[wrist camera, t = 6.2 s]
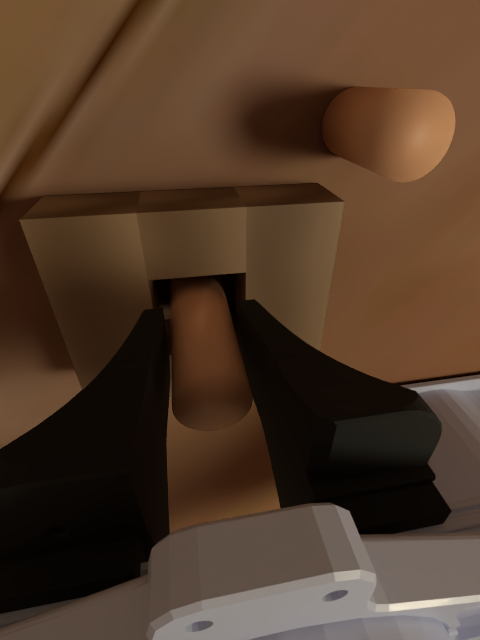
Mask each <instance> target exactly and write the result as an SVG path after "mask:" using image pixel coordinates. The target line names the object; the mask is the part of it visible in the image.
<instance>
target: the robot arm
mask: <svg viewBox="0 0 480 640" xmlns="http://www.w3.org/2000/svg"><path fill="white" fill-rule="evenodd" d="M238 344H239V348H240V351H241V355H242V359H243V362H244V366H245V370H246V374H247V377H248V381H249V385H250V388H251V392H252V396H253V399H254V402H255V404H256V407H257V410H258V413H259V416H260V419H261V422H262V426H263V429H264V434H265V438H266V442H267V446H268V451H269V455H270V460H271V464H272V469H273V474H274V478H275V483H276V488H277V493H278V497H279V502H280V507H281V509H276V510H271V511H265V512H260V513H254V514H249V515H243V516H238V517H232V518H227V519H221V520H216V521H211V522H205V523H200V524H195V525H192V526H189V527H186V528H183V529H179V530H176V531H173V532H171V533H170V532H169V509H168V482H167V450H166V438H167V421H168V407H169V394H170V380H171V374H170V353H169V347H168V340H167V334H166V328H165V321H164V315H163V308H156V309H146V310H144V311H143V312H142V313H141V315H140V317H139V319H138V321H137V322H136V324H135V326H134V327H133V329H132V331H131V332H130V334H129V335H128V337H127V338H126V340H125V341H124V343H123V344H122V346H121V347H120V348H119V350H118V351H117V352H116V353H115V355H114V356H113V357H112V359H111V360H110V361H109V362H108V364H107V365H106V366H105V367H104V368H103V369H102V371H101V372H100V373H99V374H98V375H97V376H96V377H95V378H94V379H93V380H92V381H91V382H90V383H89V384H88V385H87V386H86V387H85V388H84V389H83V390H82V391H80V392H79V393H78V394H77V395H76V396H75V397H74V398H72V399H71V400H70V401H69V402H68V403H67V404H65V405H64V406H63V407H62V408H60V409H59V410H58V411H56V412H55V413H54V414H52V415H51V416H50V417H48V418H47V419H46V420H44V421H43V422H41V423H40V424H39V425H37V426H36V427H34V428H33V429H31V430H30V431H28V432H27V433H25V434H23V435H22V436H20V437H19V438H17V439H16V440H14V441H12V442H11V443H9V444H8V445H6V446H4V447H3V448H1V449H0V640H480V375H473V376H466V377H458V378H451V379H444V380H437V381H429V382H422V383H415V384H408V385H401V386H398V385H395V384H392V383H389V382H386V381H383V380H380V379H377V378H375V377H372V376H370V375H367V374H365V373H362V372H360V371H357V370H355V369H353V368H351V367H349V366H347V365H345V364H342V363H340V362H338V361H336V360H334V359H333V358H331V357H329V356H327V355H325V354H324V353H322V352H320V351H319V350H317V349H315V348H314V347H312V346H311V345H309V344H308V343H306V342H305V341H303V340H302V339H300V338H299V337H298V336H296V335H295V334H294V333H292V332H291V331H290V330H289V329H287V328H286V327H285V326H284V325H283V324H281V323H280V322H279V321H278V320H277V319H276V318H275V317H274V316H272V315H271V314H270V313H269V312H268V311H267V310H266V309H265V308H264V307H263V306H262V305H261V304H260V303H259V302H257V301H256V300H255V299H251V300H241V301H238Z"/></svg>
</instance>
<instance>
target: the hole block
mask: <svg viewBox="0 0 480 640" xmlns="http://www.w3.org/2000/svg"><path fill="white" fill-rule="evenodd" d="M344 203H345V201H343V200H342V199H340V198H339V197H337V196H336V195H334V194H333V193H332V192H330V191H329V190H327V189H326V188H324V187H323V186H321V185H320V184H318V183H309V184H288V185H267V186H246V187H225V188H203V189H182V190H161V191H140V192H119V193H98V194H77V195H56V196H43V197H42V198H41V199H40V200H39V201H38V202H37V203H36V204H35V205H34V206H33V207H32V208H31V209H30V210H29V211H28V212H27V213H26V214H25V215H24V216H23V217H21V218H20V219H19V221H20V224H21V226H22V229H23V232H24V234H25V237H26V240H27V242H28V245H29V248H30V250H31V253H32V256H33V258H34V261H35V264H36V267H37V269H38V272H39V275H40V277H41V280H42V283H43V285H44V288H45V291H46V293H47V296H48V299H49V302H50V304H51V307H52V310H53V312H54V315H55V318H56V320H57V323H58V326H59V328H60V331H61V334H62V337H63V339H64V342H65V345H66V347H67V350H68V353H69V355H70V358H71V361H72V363H73V366H74V369H75V372H76V374H77V377H78V380H79V382H80V385H81V388H82V390H83V389H84V388H85V387H86V386H87V385H88V384H89V383H90V382H91V381H92V380H93V379H94V378H95V377H96V376H97V375H98V374H99V373H100V372H101V371H102V369H103V368H104V367H105V366H106V365H107V364H108V362H109V361H110V360H111V359H112V357H113V356H114V355H115V353H116V352H117V351H118V350H119V348H120V347H121V346H122V344H123V343H124V341H125V340H126V338H127V337H128V335H129V334H130V332H131V331H132V329H133V327H134V326H135V324H136V322H137V321H138V319H139V317H140V315H141V313H142V312H143V311H144V310H146V309H156V308H160V307H159V301H158V295H157V289H156V282H155V280H160V279H172V278H184V277H196V276H208V275H220V274H232V273H235V314H231V318H232V322H233V325H234V329H235V333H236V336H237V340H238V301H241V300H251V299H255V300H256V301H257V302H259V303H260V304H261V305H262V306H263V307H264V308H265V309H266V310H267V311H268V312H269V313H270V314H271V315H272V316H274V317H275V318H276V319H277V320H278V321H279V322H280V323H281V324H283V325H284V326H285V327H286V328H287V329H289V330H290V331H291V332H292V333H294V334H295V335H296V336H298V337H299V338H300V339H302V340H303V341H305V342H306V343H308V344H309V345H311V346H312V347H314V348H315V349H317V350H319V351H320V346H321V340H322V334H323V328H324V322H325V316H326V310H327V304H328V298H329V292H330V286H331V280H332V274H333V268H334V262H335V256H336V250H337V244H338V238H339V232H340V226H341V220H342V214H343V208H344ZM164 321H165V328H166V334H167V340H168V347H169V353H170V374H171V380H170V394H169V396H172V373H171V320H164Z"/></svg>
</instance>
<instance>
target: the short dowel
mask: <svg viewBox="0 0 480 640" xmlns="http://www.w3.org/2000/svg"><path fill="white" fill-rule="evenodd" d="M454 130H455V113H454V109H453V106H452V104H451V102H450V101H449V99H448V98H447V97H446V96H445V95H443V94H442V93H440V92H438V91H434V90H420V89H398V88H375V87H351V88H348V89H345V90H343V91H342V92H340V93H339V94H338V95H336V96H335V97H334V98H333V100H332V101H331V102H330V104H329V105H328V107H327V109H326V111H325V114H324V117H323V121H322V137H323V140H324V143H325V145H326V147H327V148H328V149H329V150H330V151H331V152H332V153H333V154H335V155H337V156H339V157H342V158H344V159H346V160H348V161H351V162H353V163H355V164H357V165H359V166H362V167H364V168H366V169H368V170H370V171H373V172H375V173H377V174H379V175H382V176H384V177H386V178H388V179H390V180H393V181H396V182H410V181H414V180H417V179H419V178H421V177H423V176H425V175H426V174H427V173H429V172H430V171H431V170H432V169H434V168H435V167H436V166H437V164H438V163H439V162H440V161H441V160H442V158H443V157H444V155H445V154H446V152H447V150H448V148H449V146H450V144H451V141H452V138H453V135H454Z"/></svg>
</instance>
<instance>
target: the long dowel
mask: <svg viewBox="0 0 480 640" xmlns="http://www.w3.org/2000/svg"><path fill="white" fill-rule="evenodd" d="M170 305H171V373H172V411H173V414H174V416H175V418H176V419H177V420H178V421H179V422H180V423H181V424H183V425H184V426H186V427H189V428H191V429H195V430H201V431H212V430H219V429H223V428H226V427H229V426H231V425H233V424H235V423H236V422H238V421H239V420H241V419H242V418H243V417H244V416H245V415H246V414H247V413H248V411H249V410H250V408H251V405H252V400H253V397H252V392H251V388H250V385H249V381H248V377H247V374H246V370H245V366H244V362H243V359H242V355H241V351H240V348H239V344H238V340H237V336H236V333H235V329H234V325H233V322H232V318H231V314H230V310H229V307H228V303H227V299H226V296H225V292H224V288H223V284H222V281H221V277H220V275H208V276H196V277H184V278H172V279H170Z"/></svg>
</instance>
